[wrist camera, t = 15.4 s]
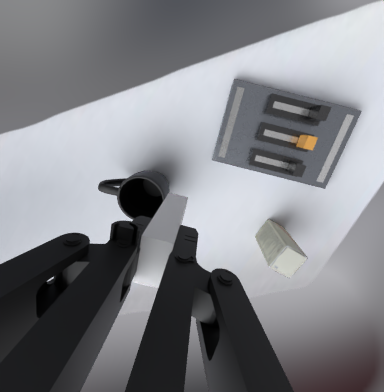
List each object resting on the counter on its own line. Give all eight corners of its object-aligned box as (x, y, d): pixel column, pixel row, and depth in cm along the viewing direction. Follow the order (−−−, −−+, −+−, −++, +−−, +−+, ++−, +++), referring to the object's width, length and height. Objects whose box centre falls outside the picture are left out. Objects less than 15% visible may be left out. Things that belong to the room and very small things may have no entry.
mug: (122, 155, 42) (97, 162, 33) (178, 171, 42) (170, 183, 33) (115, 192, 44) (92, 208, 35) (169, 207, 45) (159, 228, 36)
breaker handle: (300, 134, 35) (308, 135, 32) (309, 136, 35) (318, 137, 32) (295, 146, 35) (303, 148, 33) (304, 148, 35) (312, 150, 33)
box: (270, 245, 45) (288, 280, 35) (253, 235, 45) (267, 268, 35) (285, 227, 44) (309, 258, 33) (268, 217, 43) (287, 245, 33)
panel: (233, 80, 36) (238, 71, 30) (355, 111, 36) (384, 108, 30) (212, 159, 41) (212, 164, 35) (320, 186, 40) (340, 196, 35)
